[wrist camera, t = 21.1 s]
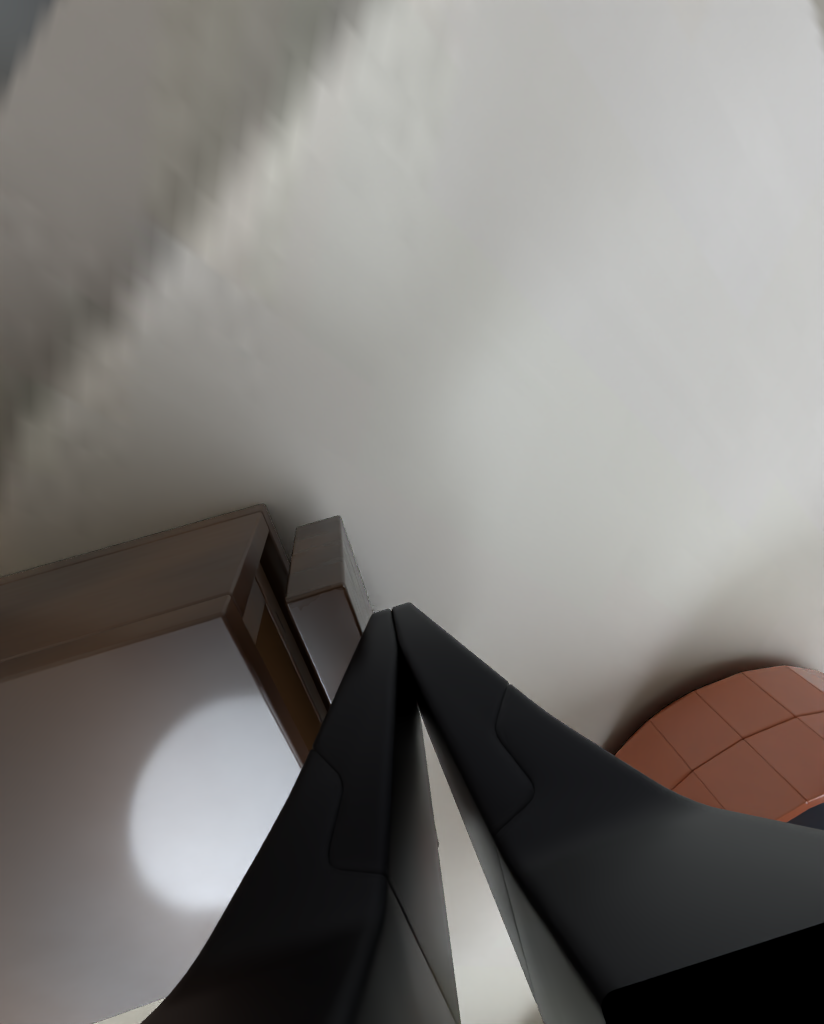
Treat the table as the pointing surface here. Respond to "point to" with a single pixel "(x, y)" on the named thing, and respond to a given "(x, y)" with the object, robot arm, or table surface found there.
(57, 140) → the table surface
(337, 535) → the drawer
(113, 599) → the cabinet
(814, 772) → the bowl
